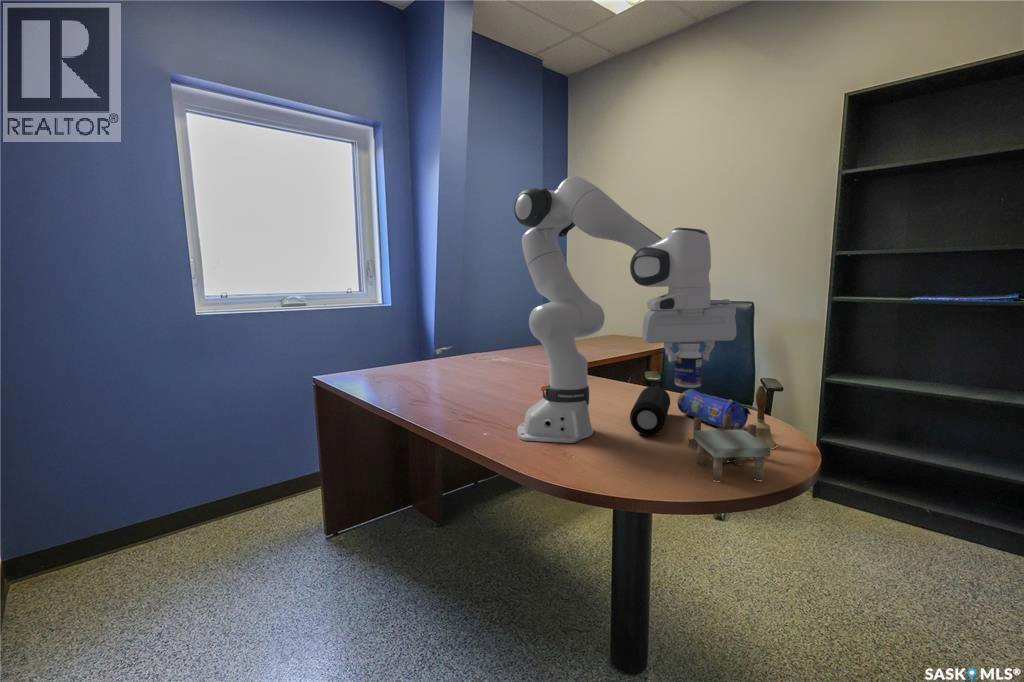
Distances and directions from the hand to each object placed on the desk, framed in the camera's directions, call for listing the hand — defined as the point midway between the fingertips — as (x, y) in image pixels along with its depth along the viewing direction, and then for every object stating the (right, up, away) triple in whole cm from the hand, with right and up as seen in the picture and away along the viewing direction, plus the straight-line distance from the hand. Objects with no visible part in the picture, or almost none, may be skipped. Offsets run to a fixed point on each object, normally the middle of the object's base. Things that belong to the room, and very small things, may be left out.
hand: (688, 361), depth 103 cm
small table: (+10, -26, +1) cm, 28 cm away
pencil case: (+21, -21, +36) cm, 47 cm away
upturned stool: (+14, -24, +13) cm, 31 cm away
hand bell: (+26, -23, +18) cm, 39 cm away
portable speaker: (+3, -22, +36) cm, 42 cm away
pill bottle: (0, -6, +1) cm, 6 cm away
